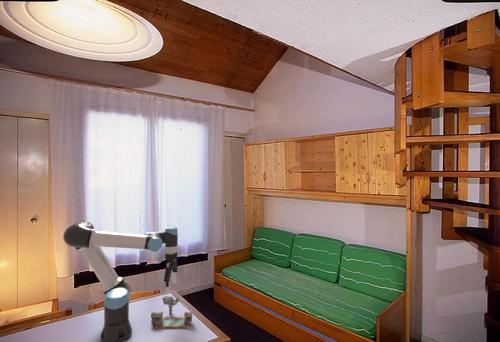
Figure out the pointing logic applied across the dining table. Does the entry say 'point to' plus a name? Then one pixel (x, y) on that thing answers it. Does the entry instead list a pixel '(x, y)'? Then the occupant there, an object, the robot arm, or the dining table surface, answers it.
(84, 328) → the dining table surface
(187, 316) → the mint panel frame
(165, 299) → the mechanical component
